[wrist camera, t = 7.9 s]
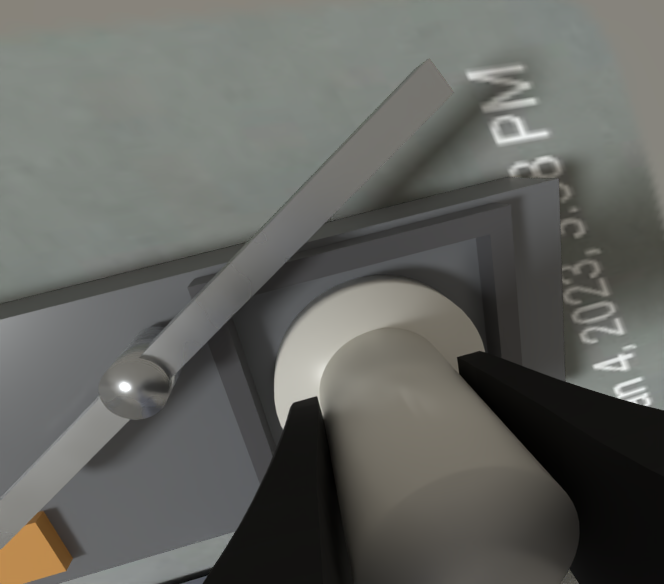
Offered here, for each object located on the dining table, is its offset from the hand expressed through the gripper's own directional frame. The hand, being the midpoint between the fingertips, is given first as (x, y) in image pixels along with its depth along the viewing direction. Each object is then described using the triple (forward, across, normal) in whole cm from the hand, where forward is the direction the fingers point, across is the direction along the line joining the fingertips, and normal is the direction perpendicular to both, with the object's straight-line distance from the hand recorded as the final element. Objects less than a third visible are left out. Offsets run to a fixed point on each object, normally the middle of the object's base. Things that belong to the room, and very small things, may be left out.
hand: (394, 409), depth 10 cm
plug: (+2, 0, 0) cm, 2 cm away
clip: (+2, +4, -3) cm, 6 cm away
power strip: (+4, +4, 0) cm, 6 cm away
